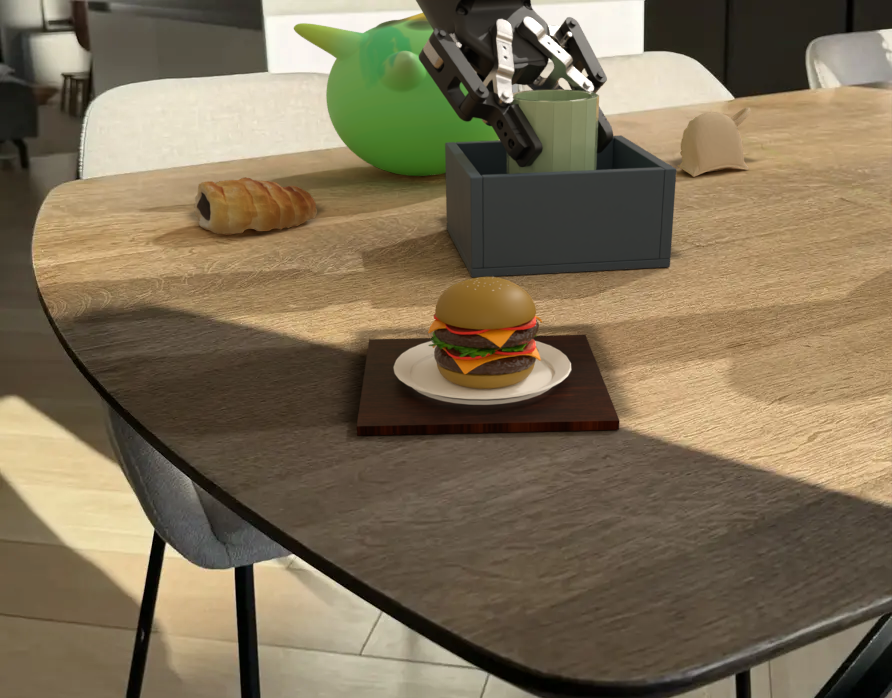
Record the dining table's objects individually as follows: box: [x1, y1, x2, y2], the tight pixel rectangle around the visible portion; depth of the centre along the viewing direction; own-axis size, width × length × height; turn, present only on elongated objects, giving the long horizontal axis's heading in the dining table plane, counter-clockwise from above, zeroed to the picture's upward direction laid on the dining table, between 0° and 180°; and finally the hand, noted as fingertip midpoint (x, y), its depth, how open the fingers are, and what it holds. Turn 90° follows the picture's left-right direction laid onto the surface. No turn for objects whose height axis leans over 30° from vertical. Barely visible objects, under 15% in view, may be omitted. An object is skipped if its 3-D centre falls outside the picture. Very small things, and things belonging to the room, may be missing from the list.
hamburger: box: [356, 276, 620, 437], centre depth 55 cm, size 12×12×6 cm
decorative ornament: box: [677, 107, 752, 178], centre depth 105 cm, size 4×8×5 cm, turn 116°
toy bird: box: [293, 12, 500, 177], centre depth 103 cm, size 18×17×15 cm
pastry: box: [194, 177, 318, 236], centre depth 88 cm, size 9×7×4 cm
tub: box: [507, 89, 600, 174], centre depth 78 cm, size 6×6×8 cm
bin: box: [445, 135, 677, 278], centre depth 80 cm, size 14×14×7 cm
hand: (568, 152), depth 77 cm, fingers closed on tub, 6 cm apart
